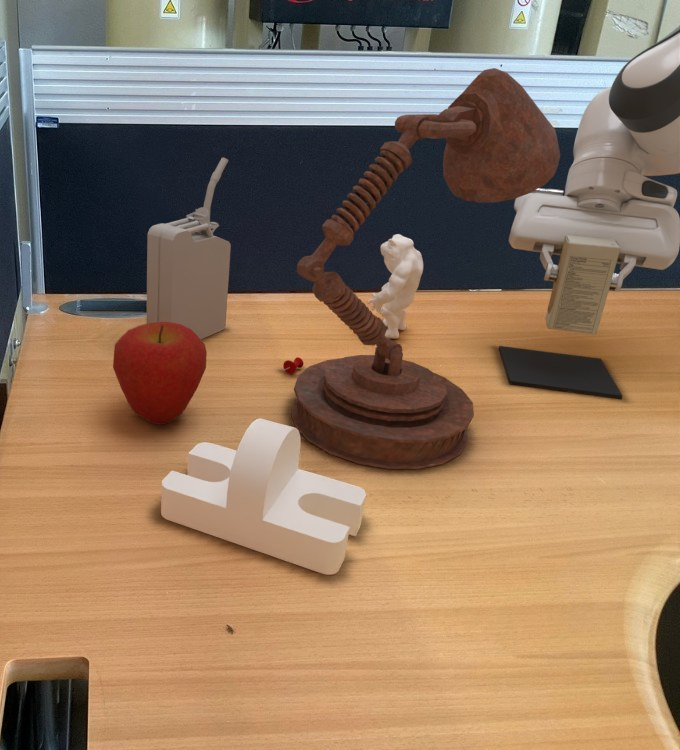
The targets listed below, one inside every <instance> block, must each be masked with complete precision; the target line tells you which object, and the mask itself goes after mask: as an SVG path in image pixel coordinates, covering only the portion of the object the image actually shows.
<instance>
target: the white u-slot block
mask: <svg viewBox="0 0 680 750" xmlns="http://www.w3.org/2000/svg"><path fill="white" fill-rule="evenodd" d="M301 443H302V441H301V433H300V432H299V430H298V429H297V428H296V427H295V426H290V425H286V424H283V423H279V422H276V421H272V420H268V419H265V418H261V417H259V418H256V419H255V420H253V421H252V422H251V423H250V425H249V426H248V427H247V428H246V430H245V432H244V434H243V435H242V438H241V439H240V442H239V444H238V446H237V449H233V448H229V447H226V446H223V445H220V444H216V443H212V442H208V441H207V442H205V441H204V442H203V441H202V442H199V443H197V444H196V445H195V446H194V447H193V448H192V449H191V450H190V451H189V452H188V456H187V474H185V473H181V472H178V471H175V470H171V471H170V472H168V474H166V476H165V477H164V478H163V479H162V481H161V501H160V502H161V503H160V504H161V505H160V515H161V517H162V518H163V519H164V520H167V521H170V522H173V523H175V524H179V525H181V526H184V527H187V528H189V529H192V530H196V531H198V532H201V533H204V534H206V535H210V536H213V537H215V538H219V539H221V540H224V541H227V542H230V543H232V544H235V545H238V546H242V547H245V548H248V549H250V550H253V551H256V552H259V553H262V554H265V555H268V556H270V557H273V558H276V559H279V560H281V561H285V562H287V563H290V564H293V565H297V566H299V567H302V568H305V569H307V570H311V571H313V572H317V573H319V574H322V575H325V576H326V575H328V576H330V575H331V576H333V575H335V574H337V573H338V572H339V571H340V569H341V567H342V565H343V563H344V561H345V558H346V552H347V546H348V540H349V536H352V537H357V535H358V532H359V530H360V528H361V525H362V521H363V515H364V509H365V503H366V497H367V491H365V489H364V488H363V487H361V486H358V485H355V484H351V483H348V482H344V481H341V480H338V479H336V478H335V479H334V478H332V477H328V476H325V475H321V474H318V473H314V472H311V471H307V470H304V469H301V468H299V464H300V457H301V456H300V455H301V445H302V444H301Z"/></svg>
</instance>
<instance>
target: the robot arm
mask: <svg viewBox="0 0 680 750" xmlns="http://www.w3.org/2000/svg"><path fill="white" fill-rule="evenodd" d="M572 154H573V163H572V164H571V166H570V167H569V169H568V174H567V177H566V182H565V187H564V189H555V188H542V187H540V188H538V189H536V190H535V191H533V192H531V193H529V194H526V195H524V196H521V197H518V198H515V199H514V203H513V209H514V212H515V213H516V214H515V215H514V218H513V219H514V220H513V222H512V225H511V229H510V231H509V232H510V233H509V236H508V243H509V245H510V246H511V248H513V249H515V250H522V251H529V252H535V253H540V255H539V260H540V262H541V265H542V267H543V269H544V270H545V273H544V277H543V281H547V282H553V283H554V282H556V279H557V277H558V271H559V267H560V265H558V264H554V262H553V259H552V256H553V255H556V256H561V252H562V248H563V244H564V240H565V236H566V235H575V236H586V237H597V238H608V239H615V240H616V241H617V243H618V244H619V246H620V252H619V255H618V259H617V262H616V264H617V265H618V264H619V270H620V271H619V273H615V272H614V273H613V277H612V281H611V284H610V288H609V291H611V292H620V290H621V289H622V286H623V282H624V280H625V278H626V277H627V276H629V274H631V273H632V271H633V270H634V268H635V267H640V268H648V269H653V270H661V271H664V270H666V269H667V268H669V267H670V266H671V265H673V263H674V262H675V260H676V259H677V257H678V255H679V252H680V215H679V213H678V211H677V209H676V208H675V207H674V206H675V204H676V201H677V199H678V191H677V189H676V188H675V187H673V186H670V185H667V184H665V183H662V182H659V181H657V180H654V179H651V178H650V177H652V178H653V177H665V176H666V177H667V176H675V175H680V25H678V26H677V27H675V29H673V30H672V31H671V32H670V33H668V34H667V35H666V36H664V37H663V38H661V39H660V40H659V41H657V42H655V43H653V44H652V45H650V46H649V47H647V48H646V49H644V50H642V51H641V52H639V53H638V54H636V55H635V56H634V57H632V58H631V59H630V60H629V61H627V62H626V63H625V65H624V66H623V67H622V68H621V69H620V70H619V72H618V74H617V75H616V76H615V78H614V80H613V82H612V85H611V86H609V87H607V88H604V89H603V90H601V91H600V92H598V93H597V94H596V95H595V96H593V98H592V99H591V101H590V102H589V103H588V104H587V106H586V107H585V110H584V111H583V114H582V115H581V119H580V121H579V125H578V128H577V131H576V135H575V140H574V144H573V150H572Z"/></svg>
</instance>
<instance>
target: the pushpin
mask: <svg viewBox="0 0 680 750" xmlns="http://www.w3.org/2000/svg"><path fill="white" fill-rule="evenodd" d="M282 366H283V370H282V372H285V373H286V374H289V375H294V374H295V373H296V372H297V369H301V368H302V367H304V360H303V359H302V358H301V357H295V358H294V360H293V361H292V360H289V359H287V360H285V361H284V362H283V364H282Z"/></svg>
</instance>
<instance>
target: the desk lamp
mask: <svg viewBox="0 0 680 750" xmlns="http://www.w3.org/2000/svg"><path fill="white" fill-rule="evenodd" d="M394 128H395V129H396V131H397V132H398V133H402V134H401V135H400V137H399V139H398V141H392V140H391V141H385V142H384V143H383V144H382V146H381V147H380V149H379V154H380V156H377V157H375V158H374V161H375V164H374V163H372V164H370V165H369V166H368V170H366V171H365V172H364V173H363V176H364V178H359V180H358V181H357V182H358V183H357V184H358V185H354V186H352V192H350V193H347V195H346V198H347V200H342V203H341V207H337V208H336V214H337V215H336V214H332V215H331V217H330V218H328V219H326V220H325V221H324V222H323V224H322V226H321V228H322V231H323V234H324V239H323V240H322V242H321V243H320V244H319V245H318V247H317V248H316V249H315V250H314V252H313V253H312V254H311V255H306V256H303V257H301V258H300V260H299V261H298V262H297V264H296V273H298V275H299V276H300V277H302V278H304V279H305V280H307V281H310V282H313V285H312V288H311V292H312V293H313V295H314V297H315V298H316V299H317V300H318V301H319V302H320V303H322V302H323V305H326V306H327V307H328V309H329V310H330V311H331V312H332V313H333V314H335V315H336V317H337V318H338V319H339V320H340V321H341V322H342V323H344V324H345V326H346V327H348V328H349V330H351V331H352V332H353V334H355V335H356V336H357V337H358V340H359V341H360V342H361V343H362V345H364V346H375V345H376V347H375V350H374V354H357V355H349V356H343V357H340V358H333V359H332V358H331V359H327V360H323V361H320V362H318V363H315V364H312V365H309V366H308V367H307V368H305V369H304V370H303V371H302V372H300V373H299V374H298V375H297V378H296V380H295V384H294V387H293V391H294V394H295V397H296V399H294V401H293V405H292V408H291V411H290V415H291V418H292V422H293V424H294V428H297V429H298V430H299V433H300V435H302V436H303V437H304V438H305V439H306V440H307V441H308V442H309V443H310V444H313V445H314V446H316V447H317V448H319V449H320V450H323V451H324V452H326V453H327V454H329V455H332V456H335V457H337V458H341V459H343V460H346V461H349V462H351V463H354V464H357V465H362V466H369V467H374V468H380V469H386V470H421V469H422V470H423V469H427V468H431V467H436V466H442V465H444V464H446V463H448V462H449V461H450V462H451V460H453V459H455V458H457V457H459V456H460V455H461V454H462V452H463V451H464V449H465V447H466V446H467V444H468V443H469V440H468V439H469V438H468V429H467V428H468V427H469V425H470V424H471V422H472V421H473V418H474V417H475V411H474V403H473V400H471V398H470V397H469V396H468V395H467V394H466V392H465V391H464V390H463V389H462V388H461V387H460V386H458V385H457V384H455V383H454V382H452V381H451V380H449V379H448V378H447V377H445V376H443V375H440V374H438V373H436V372H433V371H432V370H431V369H429V368H427V367H425V366H422V365H420V364H418V363H416V362H414V361H410V360H406V359H403V357H404V356H403V355H404V354H403V348H402V347H403V346H402V345H401V344H399V343H398V342H396V341H394V340H392V339H391V338H387V337H386V336H385V333H386V331H387V330H388V326H385V324H384V323H383V319H382V318H380V317H378V316H377V315H375V314H374V313H373V311H372V310H370V309H369V307H368V306H367V305H366V304H365V302H363V300H362V299H361V298H359V297H358V296H357V295H356V293H354V291H353V290H352V289H351V288H350V287H349V286H348V285H347V284H346V283H345V282H344V281H343V279H342V277H341V276H340V274H338V273H337V271H324V270H325V264H326V262H327V261H328V259H329V257H330V256H331V255H332V254H333V252H334V250H335V249H336V247H337V246H350V244H351V243H352V242H353V241H354V238H355V237H354V235H355V233H356V232H358V230H359V229H360V226H361V225H364V222H365V220H366V218H368V217H369V216H370V214H371V211H373V210H374V209H375V208H376V204H379V203H380V202H381V200H382V199H383V198H382V197H383V196H385V195H386V194H387V193H388V190H389V189H390V188H391V187H392V186H393V182H396V181H398V177H399V175H400V174H401V173H403V171H404V170H405V169H408V168H409V167H410V165H411V164H412V163H413V158H412V155H411V152H410V149H411V148H412V146H413V145H414V144H415V143H416V142H417V141H418V140H425V139H432V140H439V139H440V140H441V139H445V140H446V141H445V142H446V144H445V147H444V151H443V159H442V170H443V172H442V173H443V178H444V180H445V183H446V185H447V187H448V189H449V191H450V192H451V193H452V195H454V196H455V197H457V198H459V199H461V200H464V201H466V202H472V203H473V202H474V203H487V204H488V203H500V202H505V201H510V200H511V201H512V200H515V198H518V197H521V196H524V195H526V194H529V193H531V192H533V191H535V190H536V189H538V188H542V187H544V186H545V185H546V184H547V183H548V182H549V181H550V180H551V179H553V177H554V176H555V175H556V171H557V169H558V167H559V163H560V159H561V151H560V145H559V141H558V136H557V132H556V129H555V127H554V126H553V124H552V123H551V121H549V119H548V118H547V117H546V115H545V114H544V113H543V112H542V110H541V109H540V107H539V106H538V105H537V104H536V103H535V101H534V100H533V98H532V97H531V96H530V94H529V93H528V92H527V91H526V89H525V88H524V87H523V85H521V84H520V83H519V82H518V81H517V80H516V79H515V78H514V77H512V76H511V75H510V74H509V73H508V72H506V71H503V70H501V69H498V68H495V67H494V68H487V69H483V70H482V71H481V72H480V73H479V74H478V75H477V76H476V77H475V78H474V79H473V80H472V81H471V82H470V84H468V86H467V87H466V88H465V89H464V90H463V91H462V93H461V94H459V96H457V97H456V99H454V101H453V102H451V104H450V105H448V107H447V108H445V109H443V110H442V111H441V112H439V113H438V114H433V113H422V114H419V113H418V114H404V115H400V116H398V117H396V119H395V121H394Z"/></svg>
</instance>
